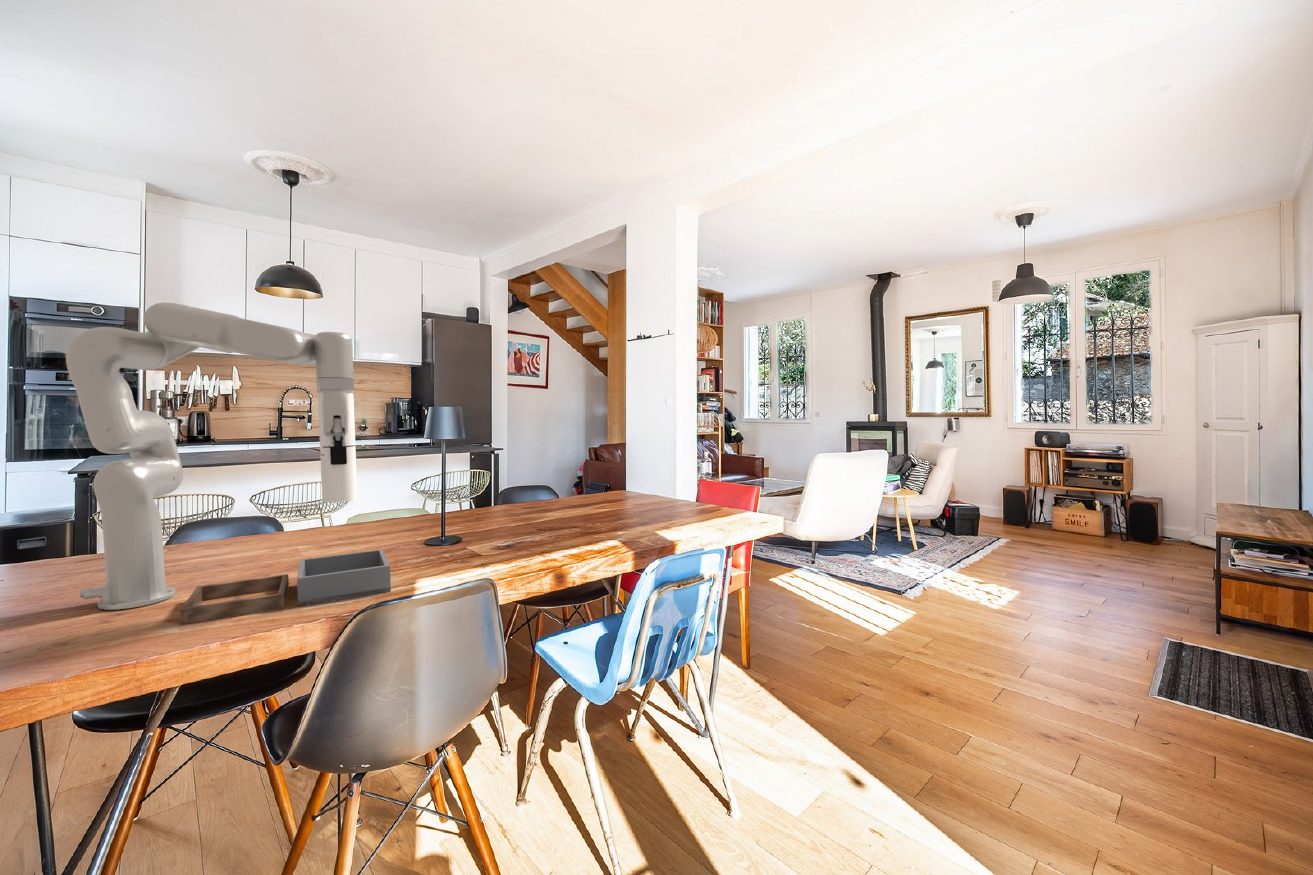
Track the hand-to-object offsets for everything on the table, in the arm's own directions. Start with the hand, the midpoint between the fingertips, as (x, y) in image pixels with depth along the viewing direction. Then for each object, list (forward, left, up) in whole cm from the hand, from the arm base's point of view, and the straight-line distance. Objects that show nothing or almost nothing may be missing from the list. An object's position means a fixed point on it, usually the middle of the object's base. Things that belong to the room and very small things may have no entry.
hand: (338, 462), depth 130 cm
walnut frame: (-20, 0, -30) cm, 36 cm away
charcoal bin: (0, 0, -30) cm, 30 cm away
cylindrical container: (0, 0, -9) cm, 9 cm away
